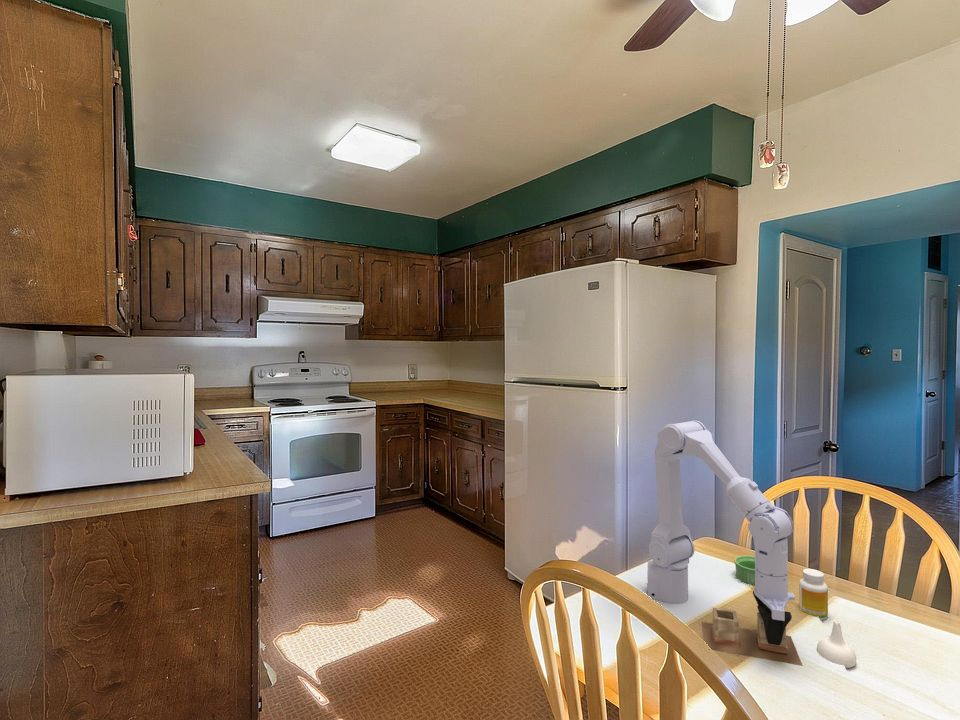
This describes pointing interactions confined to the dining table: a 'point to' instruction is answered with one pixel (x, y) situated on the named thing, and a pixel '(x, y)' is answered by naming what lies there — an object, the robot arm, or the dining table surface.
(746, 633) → the pin board
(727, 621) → the seated sleeve
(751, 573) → the ramekin
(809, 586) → the supplement bottle
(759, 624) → the banded sleeve
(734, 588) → the dining table surface
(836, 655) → the garlic bulb
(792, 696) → the dining table surface
